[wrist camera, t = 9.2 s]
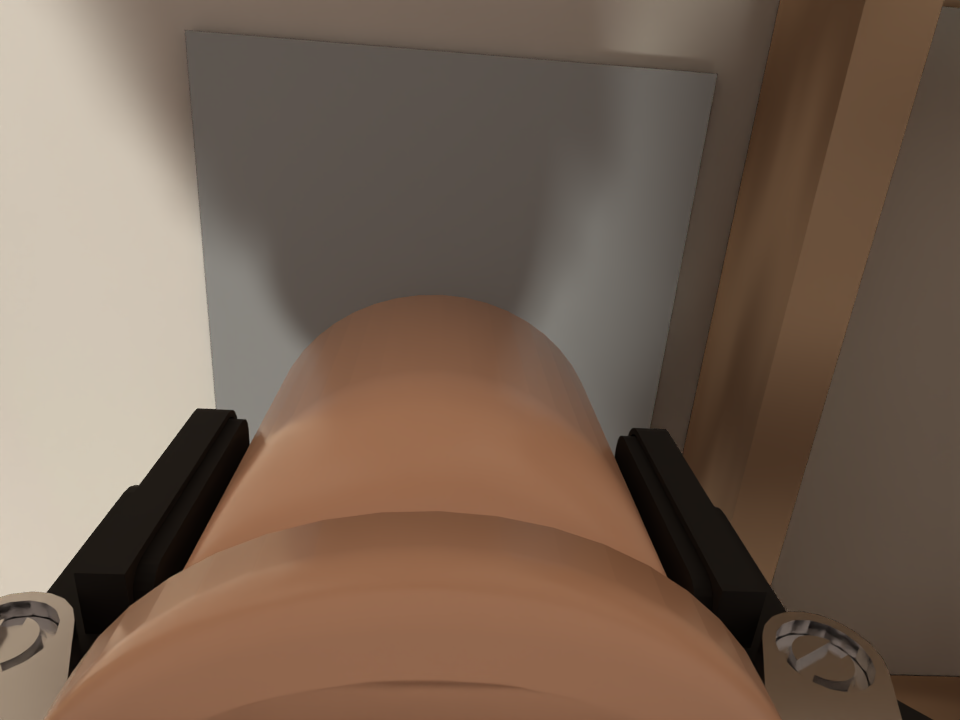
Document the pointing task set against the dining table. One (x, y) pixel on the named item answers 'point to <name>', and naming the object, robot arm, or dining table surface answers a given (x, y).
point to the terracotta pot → (422, 554)
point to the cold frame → (805, 263)
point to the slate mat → (441, 201)
